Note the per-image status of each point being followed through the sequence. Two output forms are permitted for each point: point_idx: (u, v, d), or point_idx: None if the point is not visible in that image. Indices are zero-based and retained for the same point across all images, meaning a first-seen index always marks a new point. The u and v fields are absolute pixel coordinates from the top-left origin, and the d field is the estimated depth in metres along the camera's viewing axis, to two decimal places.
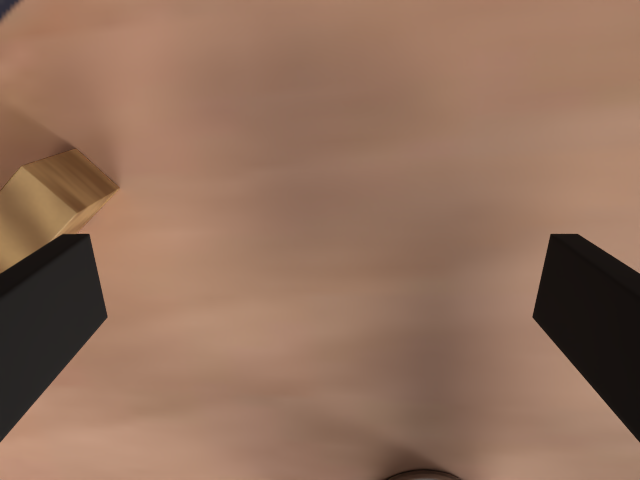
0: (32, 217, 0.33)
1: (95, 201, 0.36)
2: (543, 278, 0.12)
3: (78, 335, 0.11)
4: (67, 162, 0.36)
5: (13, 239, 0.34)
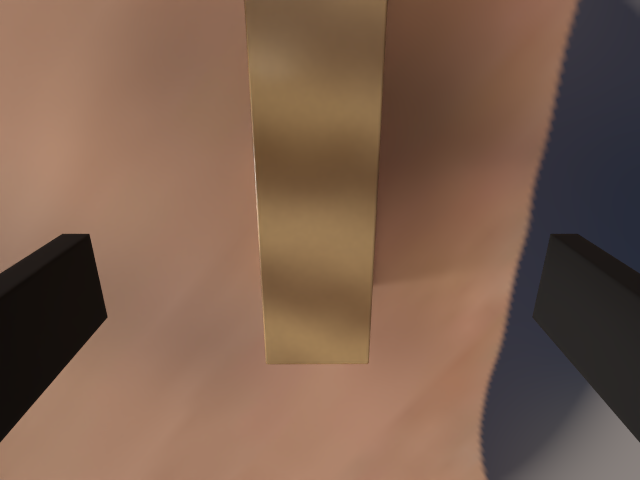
0: (308, 313, 0.20)
1: None
2: (543, 278, 0.12)
3: (78, 335, 0.11)
4: None
5: (307, 261, 0.19)
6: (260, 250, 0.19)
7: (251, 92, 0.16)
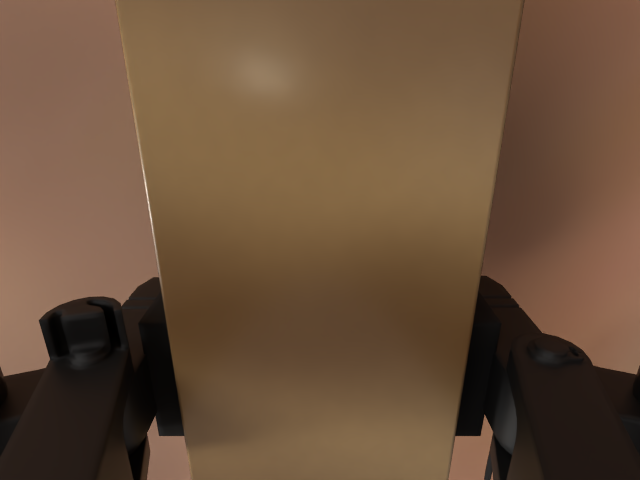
0: None
1: None
2: None
3: None
4: None
5: None
6: (193, 479, 0.08)
7: (139, 138, 0.06)
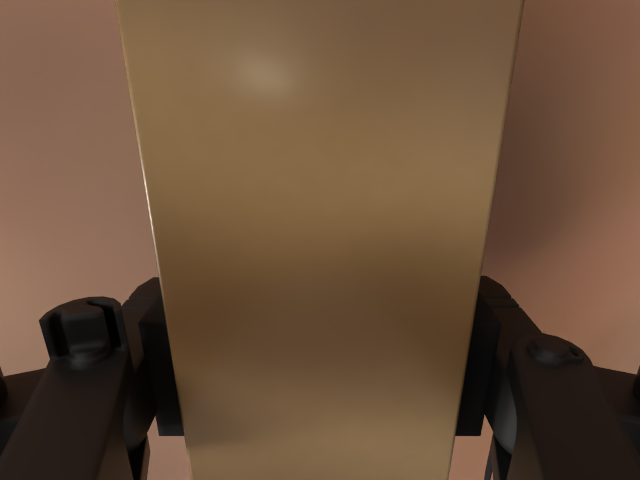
0: None
1: None
2: None
3: None
4: None
5: None
6: (193, 479, 0.08)
7: (138, 138, 0.06)
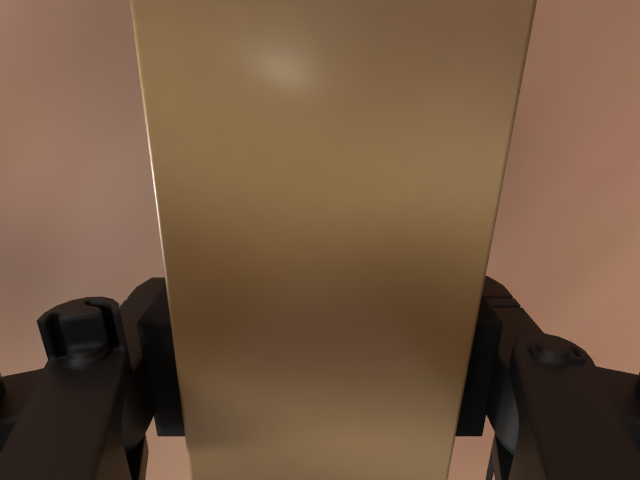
0: None
1: None
2: None
3: None
4: None
5: None
6: (192, 474, 0.08)
7: (148, 130, 0.06)
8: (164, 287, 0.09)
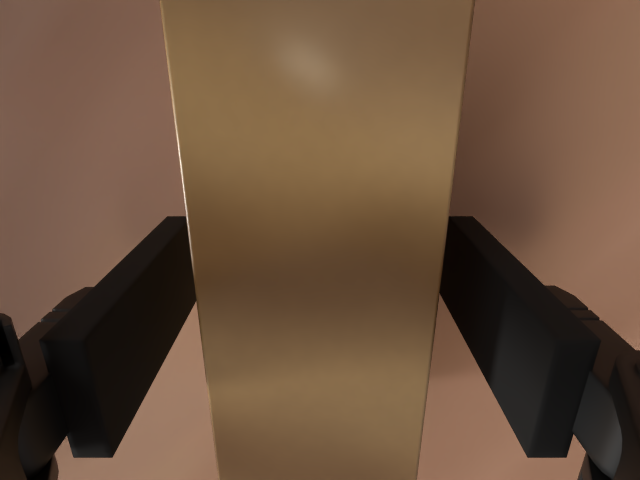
0: None
1: None
2: (444, 256, 0.14)
3: (186, 305, 0.13)
4: None
5: (300, 427, 0.10)
6: (211, 408, 0.10)
7: (176, 118, 0.07)
8: (83, 299, 0.08)
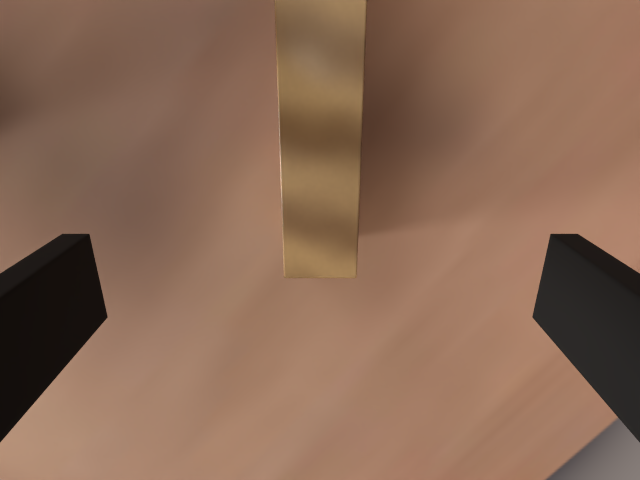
0: (314, 239, 0.28)
1: None
2: (543, 278, 0.12)
3: (78, 335, 0.11)
4: None
5: (314, 201, 0.27)
6: (282, 193, 0.27)
7: (278, 85, 0.25)
8: None
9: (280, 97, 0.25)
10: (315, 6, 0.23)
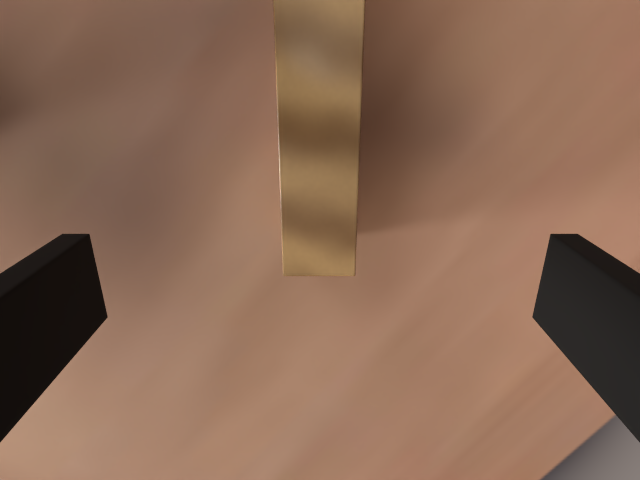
0: (313, 237, 0.29)
1: None
2: (543, 278, 0.12)
3: (78, 335, 0.11)
4: None
5: (312, 199, 0.28)
6: (281, 191, 0.27)
7: (277, 84, 0.25)
8: None
9: (279, 96, 0.25)
10: (314, 5, 0.23)
